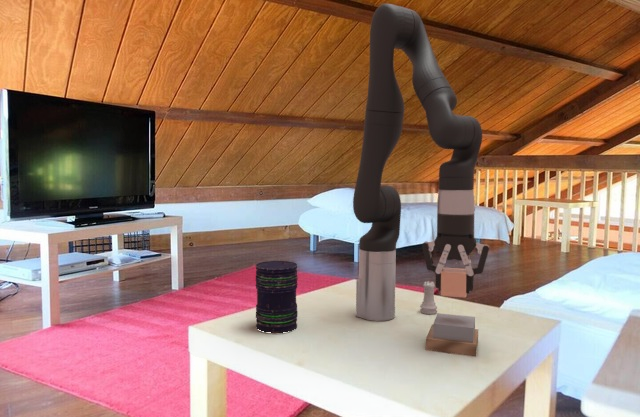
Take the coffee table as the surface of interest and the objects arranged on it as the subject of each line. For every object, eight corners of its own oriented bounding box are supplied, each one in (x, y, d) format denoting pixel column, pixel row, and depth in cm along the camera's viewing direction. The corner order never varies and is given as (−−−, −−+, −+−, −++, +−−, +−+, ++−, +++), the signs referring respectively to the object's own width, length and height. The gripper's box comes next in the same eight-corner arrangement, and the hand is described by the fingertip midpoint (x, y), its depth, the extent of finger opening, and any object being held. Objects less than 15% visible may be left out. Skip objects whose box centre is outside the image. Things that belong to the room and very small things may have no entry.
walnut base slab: (425, 352, 100) (425, 338, 100) (431, 337, 109) (432, 324, 109) (475, 359, 97) (476, 344, 96) (478, 342, 106) (478, 329, 106)
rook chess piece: (437, 315, 124) (438, 284, 123) (419, 314, 125) (420, 283, 124) (436, 310, 128) (437, 280, 127) (419, 309, 129) (420, 279, 128)
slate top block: (432, 337, 100) (433, 323, 100) (437, 326, 108) (437, 313, 108) (473, 342, 98) (473, 328, 97) (474, 330, 105) (475, 316, 105)
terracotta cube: (440, 295, 100) (441, 271, 100) (443, 290, 105) (443, 267, 105) (465, 297, 99) (466, 273, 98) (467, 292, 103) (467, 269, 103)
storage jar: (283, 336, 108) (283, 270, 106) (247, 329, 112) (246, 266, 111) (305, 324, 116) (305, 263, 115) (270, 318, 121) (270, 259, 120)
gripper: (418, 212, 100) (417, 293, 101) (491, 213, 95) (490, 299, 96) (423, 209, 107) (422, 285, 108) (492, 211, 102) (490, 290, 103)
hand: (454, 291), depth 102 cm, fingers closed on terracotta cube, 5 cm apart
